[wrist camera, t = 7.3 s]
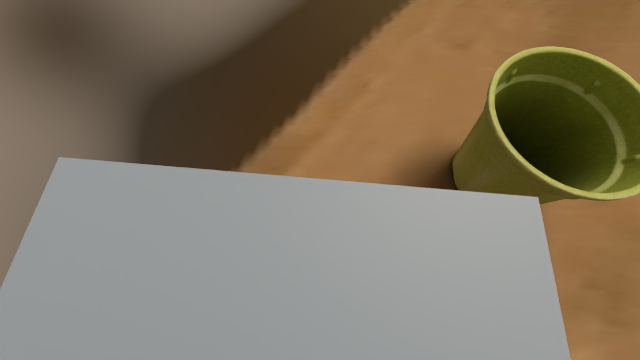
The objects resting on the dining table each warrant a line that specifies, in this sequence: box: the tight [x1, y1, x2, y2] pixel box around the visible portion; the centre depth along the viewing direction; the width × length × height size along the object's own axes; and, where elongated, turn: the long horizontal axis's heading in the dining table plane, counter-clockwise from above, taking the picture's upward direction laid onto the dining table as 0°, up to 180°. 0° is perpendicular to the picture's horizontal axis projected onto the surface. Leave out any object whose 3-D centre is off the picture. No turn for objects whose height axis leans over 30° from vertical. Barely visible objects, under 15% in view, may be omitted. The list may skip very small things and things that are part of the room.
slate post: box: [0, 157, 571, 360], centre depth 8 cm, size 4×4×13 cm
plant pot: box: [452, 47, 640, 204], centre depth 20 cm, size 9×9×9 cm
